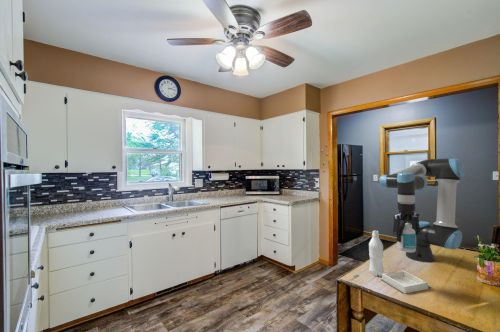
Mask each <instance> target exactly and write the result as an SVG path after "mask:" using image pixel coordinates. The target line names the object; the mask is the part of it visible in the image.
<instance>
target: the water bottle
mask: <svg viewBox="0 0 500 332" xmlns="http://www.w3.org/2000/svg"><path fill="white" fill-rule="evenodd" d="M368 252H369V253H368V255H369V269H368V270H369V273H370V274H371V275H372V276H373V277H381V278H382V274H383V273H385V269H384V264H383V262H384V261H383V260H384V244H383V242H382V240H381V239H380V234H379V230H375V229H374V230H372V234H371V239H370V240H369V242H368Z"/></svg>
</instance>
